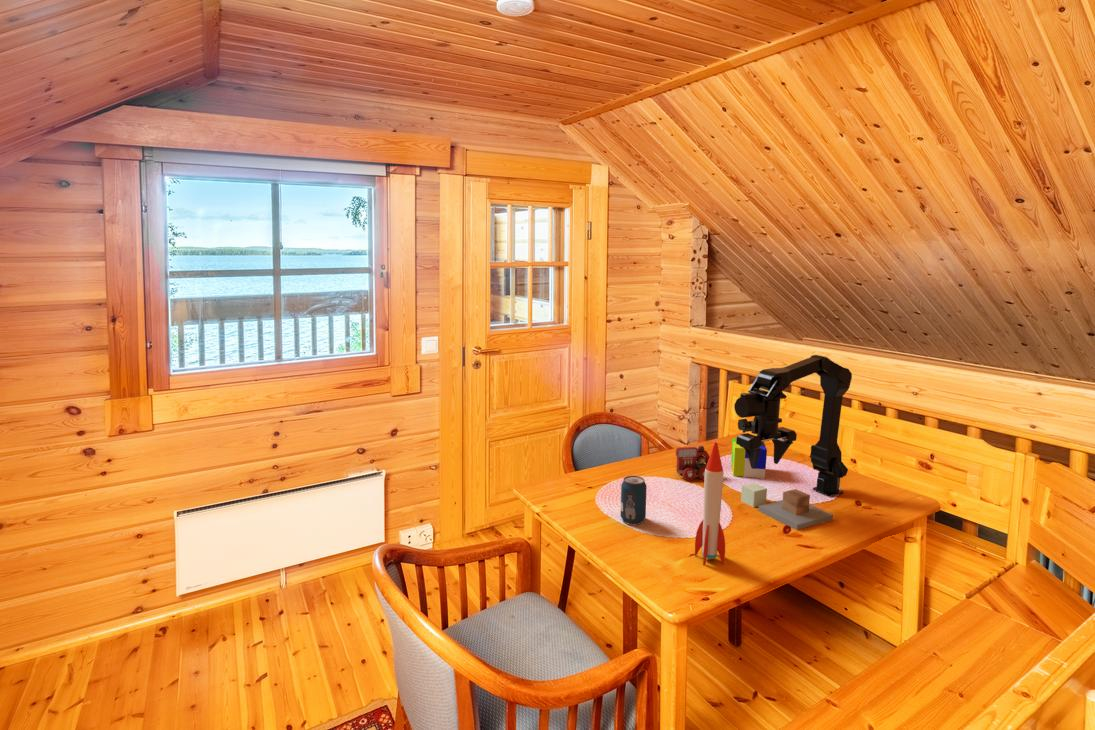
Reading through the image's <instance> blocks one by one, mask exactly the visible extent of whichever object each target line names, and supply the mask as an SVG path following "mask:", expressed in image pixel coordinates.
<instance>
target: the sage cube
mask: <svg viewBox="0 0 1095 730" xmlns="http://www.w3.org/2000/svg"><path fill="white" fill-rule="evenodd" d="M767 493H768V488H766V487H764V486H763V485H760V484H758V483H756V482H753V483H747V484H744V485H741V495H740V502H741V503H744V504H746V505H748V506H750V507H752V508H756V507H759V506H760V505H764V504H767V498H768V497H767Z"/></svg>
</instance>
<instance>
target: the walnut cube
mask: <svg viewBox="0 0 1095 730" xmlns="http://www.w3.org/2000/svg"><path fill="white" fill-rule="evenodd" d="M810 497H811V495H810V494H808V493H806V492H803V491H801V490H799V489H798V488H795V489H790V490H787V491H783V492H782V500H783V502H782V509H784V510H786V511H788V512H790V513H792V514H795V515H798V514H802V513H806V512H809V504H810V499H811V498H810Z"/></svg>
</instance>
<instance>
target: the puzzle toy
mask: <svg viewBox="0 0 1095 730" xmlns="http://www.w3.org/2000/svg"><path fill="white" fill-rule="evenodd" d="M736 439H737V438H732V443H731V444H732V445H731V460H730V467H732V468H731V473H732V472H733V473H732V476H733V477H734V476H743V477H742V478H748V477H753V478H752V479H762V478H765V479H766V469H767V455H768V453H767V452H768V449H767V447H766V444H765V441H764V442H762V443H761V446H760V447H759V448H761V452H760V455H759V459H758V462H757V465H756V468H755V469H752V468H751V465H750V462H749V458H748V455H747V453H746V450H745V449H744V448H743V447H740V445H738V444H736ZM754 477H756V478H754Z"/></svg>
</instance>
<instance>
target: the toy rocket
mask: <svg viewBox="0 0 1095 730" xmlns="http://www.w3.org/2000/svg"><path fill="white" fill-rule="evenodd" d="M703 481H704V482H703V483H704V484H703V515H702V516H703V518H702V520H701V522H700V523H699V525H698V527H697V529H696V535H695V538H694V539H695V541H694V556H695V557H696V556H697V555H698V553H699V551H700V549H702V552H701V553H702V557H703V558H702V559H703V561H702V563H703V564H702V566H705V565H706V563H707V559H709V560H710V559H716V558H717V556H718V555H719V557H720V561H721V563H722V564H723V565H724V564H725V558H726V557H725V556H726V539H725V534H724V530H723V528H722V525H721V522H720V521H721V513H722V512H721V510H722V497H723V487H724V486H723V485H724V468H723V465H722V459H721V454H720V450H719V445H718V442H716V441H715V442H714V443H713V446H712V448H711V452H710V454H709V460H708V463H707V466H706V469H705V476H704V480H703Z"/></svg>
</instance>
